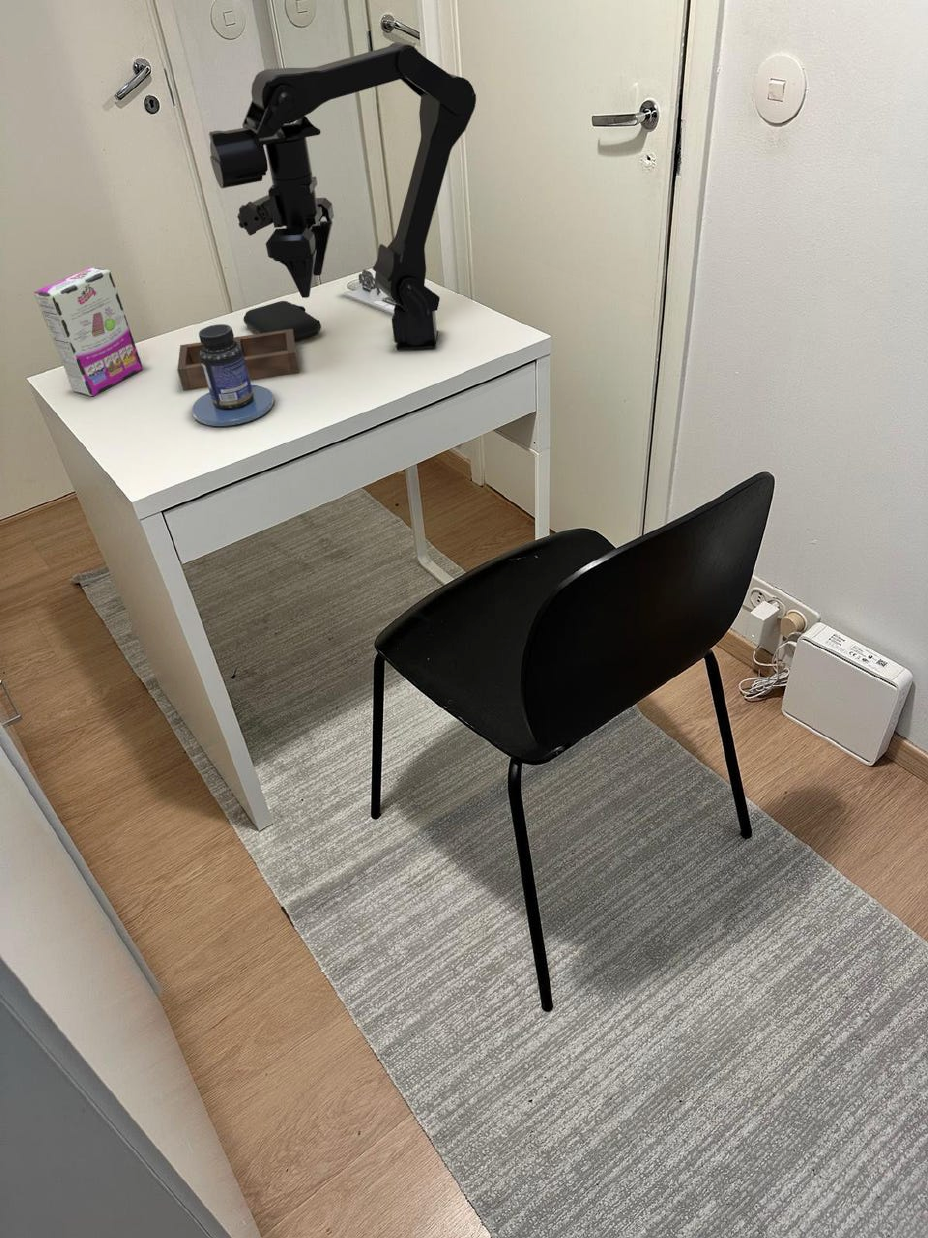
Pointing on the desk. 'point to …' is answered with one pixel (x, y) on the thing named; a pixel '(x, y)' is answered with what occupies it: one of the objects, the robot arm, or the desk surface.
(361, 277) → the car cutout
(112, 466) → the desk surface
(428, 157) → the robot arm
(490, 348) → the desk surface
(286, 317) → the carrying case
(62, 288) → the candy bar box
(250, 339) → the rack
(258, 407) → the plate
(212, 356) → the pill bottle
